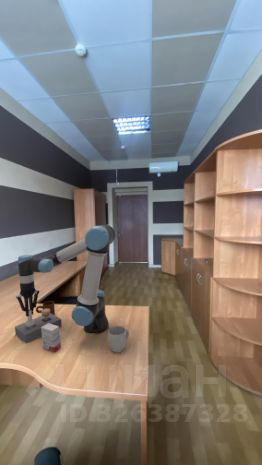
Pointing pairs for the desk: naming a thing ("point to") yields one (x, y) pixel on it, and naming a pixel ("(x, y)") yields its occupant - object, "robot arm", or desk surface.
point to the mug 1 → (47, 305)
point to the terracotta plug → (46, 314)
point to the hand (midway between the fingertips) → (30, 320)
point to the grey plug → (30, 323)
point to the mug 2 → (117, 338)
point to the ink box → (51, 337)
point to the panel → (35, 328)
